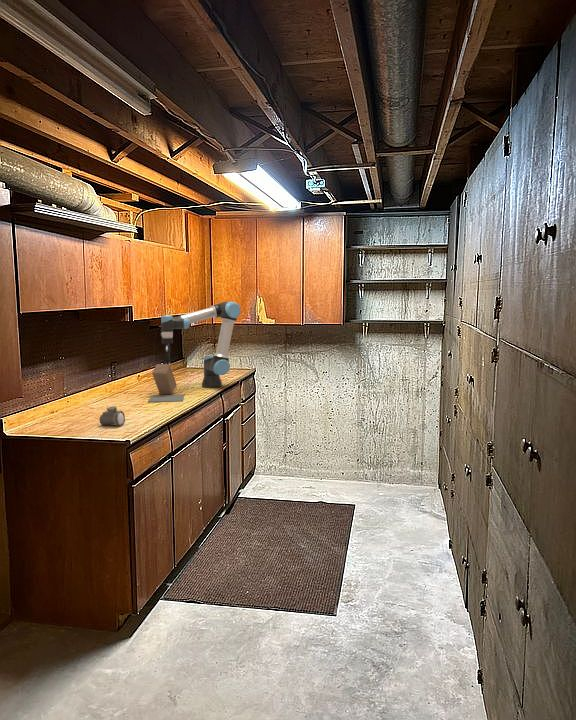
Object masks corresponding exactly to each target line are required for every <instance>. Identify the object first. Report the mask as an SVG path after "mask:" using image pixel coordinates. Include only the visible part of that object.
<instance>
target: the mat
mask: <svg viewBox="0 0 576 720" xmlns="http://www.w3.org/2000/svg"><path fill="white" fill-rule="evenodd" d="M184 398H185V394H158V395H157V394H156V395H155V394H153V395H152V394H151V395H150V397H149V399H148V401H147V403H177V402H178V403H179V402H181V403H182V402H184Z"/></svg>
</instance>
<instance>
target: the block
mask: <svg viewBox="0 0 576 720" xmlns="http://www.w3.org/2000/svg"><path fill="white" fill-rule="evenodd" d="M151 373H152V377H153V380H154V382H155V385H156V387H157V390H158V393H159V395H174V391H175V390H176V387H177V382H176V378H175V376H174V373H173V370H172V367H171V364H170V365H169V364H166V363H157V364H155V367H154V368H153V371H152V372H151Z"/></svg>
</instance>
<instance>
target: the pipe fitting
mask: <svg viewBox="0 0 576 720" xmlns="http://www.w3.org/2000/svg"><path fill="white" fill-rule="evenodd" d="M117 409H118V408H117V406H114V405H113V406H109V407H107V408H106V411H103V412H102V414H101V415H100V417H99V423H100V425H101V426H113V425H115V426H116V427H123V426H124V425H125V423H126V416H125V413H124V411H122V410H117Z"/></svg>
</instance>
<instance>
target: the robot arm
mask: <svg viewBox="0 0 576 720" xmlns="http://www.w3.org/2000/svg"><path fill="white" fill-rule="evenodd" d="M241 312H242V310H241V307H240V304H238V303H237V302H234V301H222V302H219V303H216V304H213V305H210V307H207V308H204V309H200V310H196V311H192V312H189V313H185V314H181V315H178V316H173V315H171V314H169V315H166V314H165V315H164V314H163V315H161V318H160V319H161V321H160V323H161V333H160V335H161V344H163V345H165V346H164V358H165V359H164V360H165V361H164V363H165V364H169V365H170V366H171V362H172V361H171V348H172V347H171V345H170V344H173V343H174V338H173V337H174V331H173V330H181V329H182V330H183V329H184V330H185V329H189V328H190V325H191V324H194V323H197V322H201V321H205V320H208V319H212V318H213V319H217V318H220V320H221V326H220V329H219V330H220V332H219V336H218V342H217V346H216V351H215V353H214V354H213V355H209V356H204V358H203V379H202V382H201V387H202V388H205V389H206V388H209V389H210V388H211V389H213V388H221V387H223V382H222V380H221V379H222V378H221V376H225V375H226V374H227V373H228V372H229V371H230V368H231V366H230V363H229V362H230V361H229V360H230V357H229V355H228V354H229V349H230V344H231V340H232V336H233V330H234V326H235V323H236V322H237V321H238V317H240V316H241V314H242V313H241Z"/></svg>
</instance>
